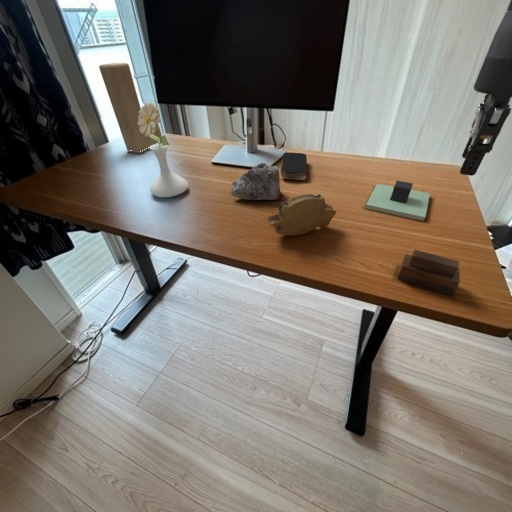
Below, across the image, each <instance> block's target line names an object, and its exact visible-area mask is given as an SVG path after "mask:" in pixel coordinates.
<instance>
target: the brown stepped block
mask: <svg viewBox="0 0 512 512" xmlns="http://www.w3.org/2000/svg"><path fill="white" fill-rule="evenodd" d="M459 265H460V261H459V260H456V259H452V258H448V257H445V256H441V255H438V254H433V253H429V252H425V251H422V250H419V249H414V250H413V252H412V254H411V255H410V254H407V253H405V254H404V257H403V259H402V261H401V264H400V265H399V269H398V272H397V276H396V278H397V280H401V281H404V282H407V283H411V284H414V285H416V286H421V287H424V288H426V289H430V290H433V291H436V292H440V293H442V294H446V295H448V296H452V295H453V293H454V292H455V291H456V289H457V288H458V286H459V285H460V281H461V279H460V278H461V277H460V276H461V275H460V273H461V269H460V268H459Z"/></svg>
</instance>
